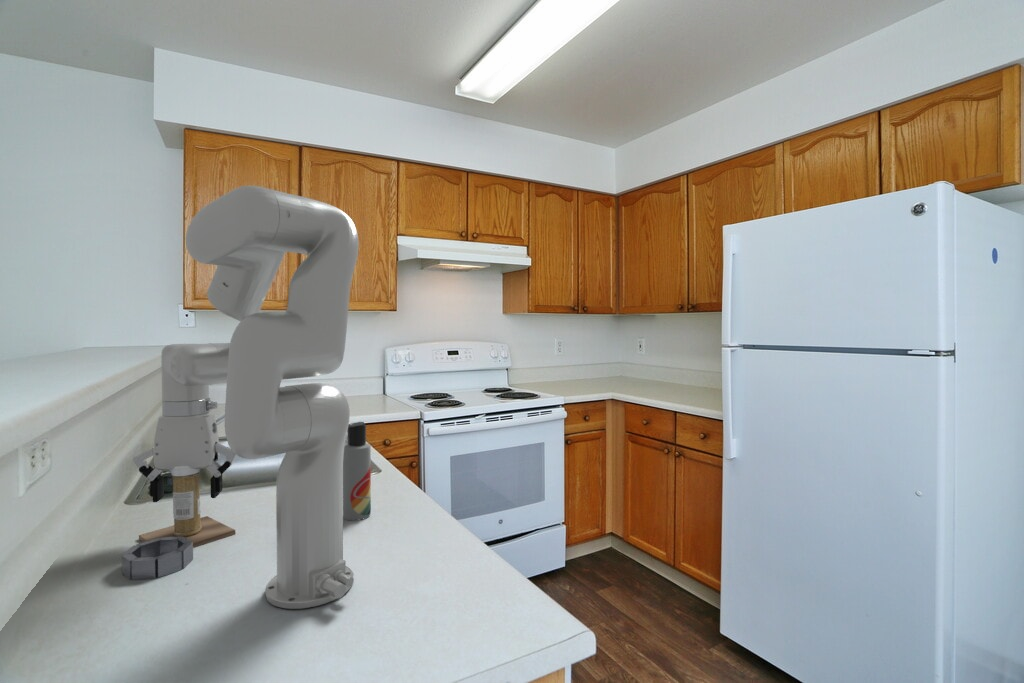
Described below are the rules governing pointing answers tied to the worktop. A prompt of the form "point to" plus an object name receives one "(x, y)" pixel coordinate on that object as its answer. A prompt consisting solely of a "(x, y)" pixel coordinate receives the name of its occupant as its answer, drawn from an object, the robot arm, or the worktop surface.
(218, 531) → the walnut board
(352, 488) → the lotion bottle
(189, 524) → the sprinkles bottle
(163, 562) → the grey segmented ring
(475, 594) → the worktop surface
